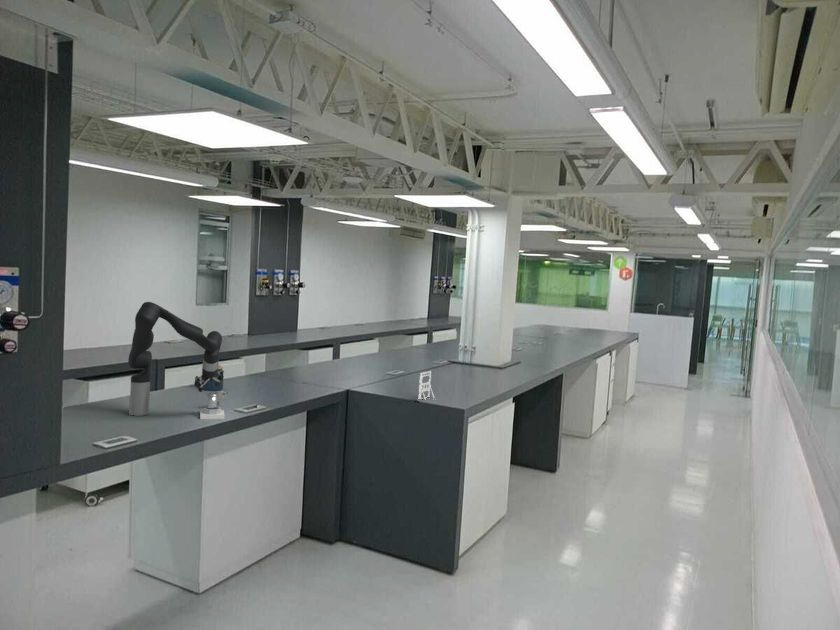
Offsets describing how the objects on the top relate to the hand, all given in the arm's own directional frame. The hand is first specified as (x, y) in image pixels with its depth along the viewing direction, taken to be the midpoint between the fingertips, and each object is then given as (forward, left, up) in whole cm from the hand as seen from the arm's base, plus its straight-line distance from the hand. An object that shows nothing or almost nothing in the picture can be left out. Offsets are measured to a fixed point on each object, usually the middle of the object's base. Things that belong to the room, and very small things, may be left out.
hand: (208, 388), depth 312 cm
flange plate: (+3, +8, -17) cm, 19 cm away
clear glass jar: (+2, +8, -15) cm, 17 cm away
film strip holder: (+134, +41, -17) cm, 141 cm away
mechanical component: (+6, +24, -17) cm, 30 cm away
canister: (+4, +82, -17) cm, 84 cm away
